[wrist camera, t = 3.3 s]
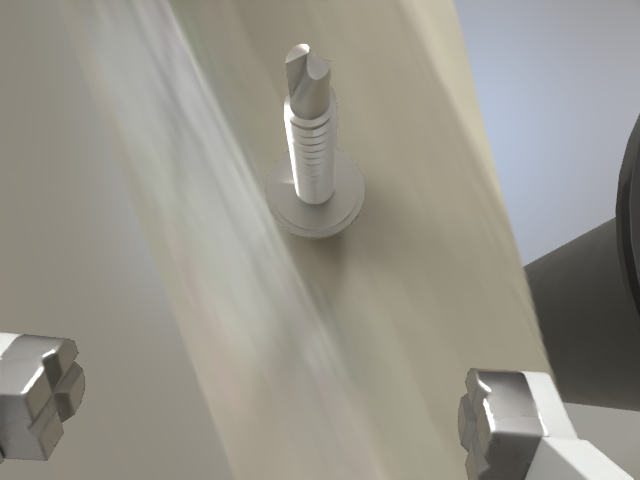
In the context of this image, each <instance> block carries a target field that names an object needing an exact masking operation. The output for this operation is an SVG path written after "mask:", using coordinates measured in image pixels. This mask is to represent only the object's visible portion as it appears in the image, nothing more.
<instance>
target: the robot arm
mask: <svg viewBox="0 0 640 480" xmlns="http://www.w3.org/2000/svg"><path fill="white" fill-rule="evenodd" d="M78 353H79V352H78V350H77V346H76V343H75V341H73V340H71V339H66V338H56V337H46V336H36V335H25V334H24V335H20V334H10V333H1V332H0V464H1V463H2V462H4V459H22V460H42V461H47V460H48V459H49V457H50V455H51V453H52V452H53V450H54V448H55V447H56V445H57V443H58V442H59V440H60V438H61V437H62V435H63V433H64V431H63V426H62V422H64V421H66V420H67V419H69V418H70V417H72V416H73V415H75V413H76V411H77V409H78V408H79V406H80V404H81V402H82V398H83V394H84V391H85V376H84V372H83V369H82V368H81V367H80V366H79V365H78V364H77V363H76V362H75V361H74V360H75V358H76V357H77V355H78ZM465 384H466V388H467V392H468V393H467V394H465V395H464V396H463V397H461V400H460V405H459V409H458V431H459V437H460V442H461V445H462V446H463V447H464V448H465V449H466V450H467V452H468V455H467V459H466V463H465V466H466V471H467V476H468V480H634V479H633V478H632V477H631V476H630V475H628V474H627V473H626V472H625V471H623V470H622V469H621V468H620V467H618V466H617V465H616V464H615V463H614V462H613V461H611V460H610V459H609V458H608V457H607V456H605V455H604V454H603V453H602V452H600V451H599V450H598V449H597V448H596V447H594V446H593V445H592V444H591V443H589V442H588V441H587V440H579V438H578V436H577V434H576V432H575V429H574V427H573V425H572V423H571V421H570V418H569V416H568V414H567V412H566V410H565V407H564V405H563V403H562V401H561V399H560V396H559V394H558V392H557V390H556V388H555V386H554V383H553V381H552V379H551V377H550V376H549V375H548V374H547V373H543V372H526V371H521V372H519V371H507V370H492V369H476V368H470V370H469V372H468V373H467V377H466V381H465Z"/></svg>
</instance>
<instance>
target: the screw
mask: <svg viewBox="0 0 640 480" xmlns="http://www.w3.org/2000/svg"><path fill="white" fill-rule="evenodd" d="M286 70H287V78H288V86H289V94H288V95H287V97H286V99H285V102H284V109H285V110H284V119H285V125H286V131H287V137H288V143H289V151H287V152H286V153H284V154H283V155H282V156H281V157H280V158H279V159H278V160H277V161H276V162H275V164H274V165H273V167H272V168H271V170H270V172H269V175H268V177H267V181H266V188H265V192H266V200H267V203H268V206H269V209H270V212H271V213H272V215H273V217H274V218H275V220H276V221H277V222H278V223H279V224H280V225H281V226H282V227H283V228H284V229H286V230H287V231H289V232H290V233H292V234H295V235H297V236H300V237H303V238H310V239H320V238H326V237H330V236H334V235H336V234H338V233H340V232H342V231H343V230H345V229H346V228H347V227H348V226H350V225H351V224H352V223H353V222H354V220H355V219H356V218H357V216H358V215H359V213H360V210H361V208H362V206H363V202H364V197H365V182H364V178H363V175H362V172H361V170H360V168H359V167H358V165H357V163H356V162H355V161H354V160H353V159H352V158H351V157H350V156H349V155H348V154H346V153H345V152H344V151H343V150H340V149H338V148H337V129H338V106H337V102H336V95H335V92H334V90H333V88H332V87H331V86H330V79H331V61H330V60H327V59H324V58H321V57H318V56H315V55H314V54H313V52H312V51H311V49H310V48H309V46H308V45H306V44H299V45H297V46H295V47H294V48H292V49H291V50H290V52H289V53H288V55H287V57H286Z"/></svg>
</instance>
